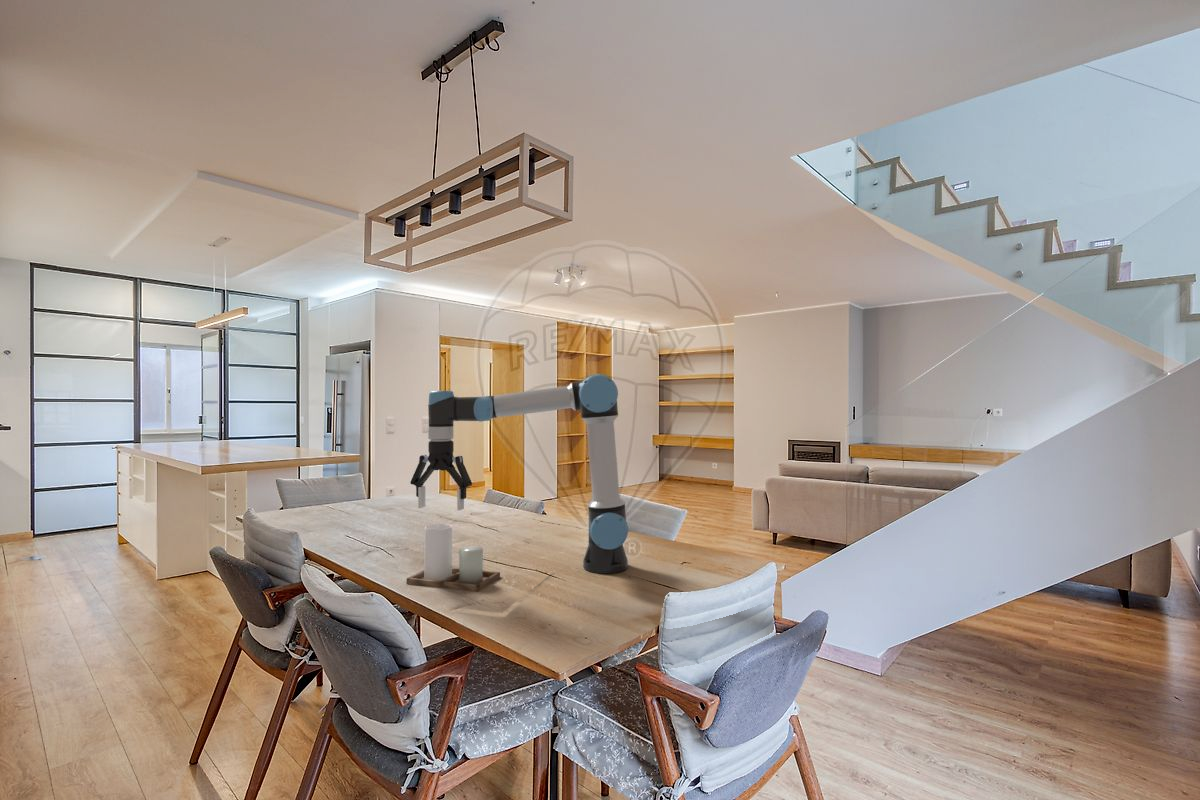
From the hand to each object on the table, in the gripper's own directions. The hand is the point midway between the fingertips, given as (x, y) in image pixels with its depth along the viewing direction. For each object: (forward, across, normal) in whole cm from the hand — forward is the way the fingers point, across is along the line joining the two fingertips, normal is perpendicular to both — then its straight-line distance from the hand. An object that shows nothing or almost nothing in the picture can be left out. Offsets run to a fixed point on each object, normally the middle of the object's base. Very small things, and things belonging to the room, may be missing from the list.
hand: (441, 508), depth 175 cm
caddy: (+23, -5, +1) cm, 23 cm away
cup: (+22, +1, +1) cm, 22 cm away
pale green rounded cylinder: (+22, -11, +1) cm, 24 cm away
